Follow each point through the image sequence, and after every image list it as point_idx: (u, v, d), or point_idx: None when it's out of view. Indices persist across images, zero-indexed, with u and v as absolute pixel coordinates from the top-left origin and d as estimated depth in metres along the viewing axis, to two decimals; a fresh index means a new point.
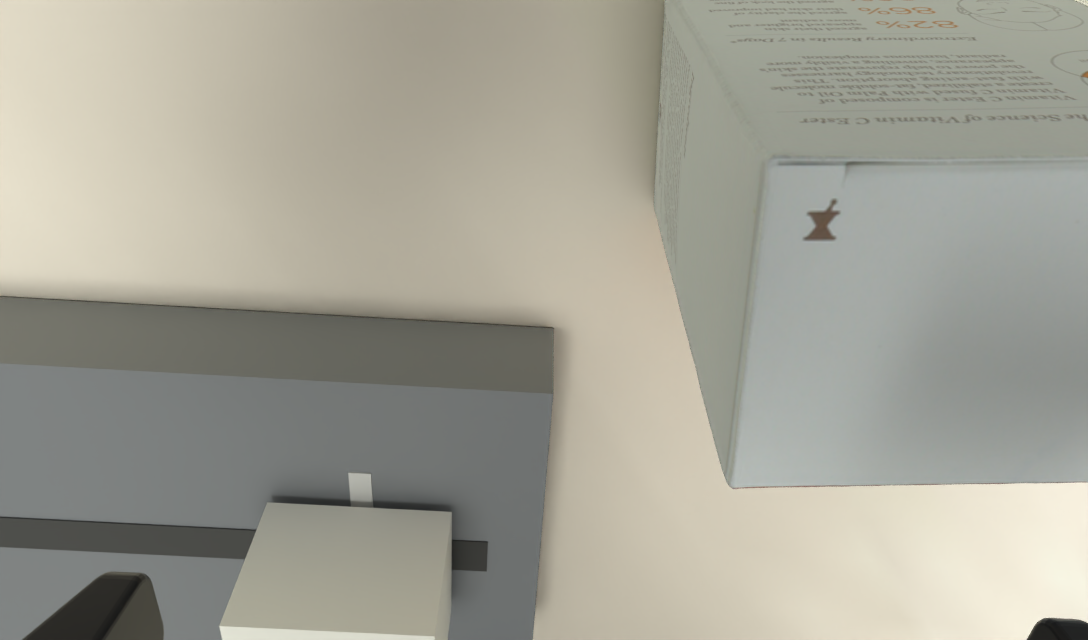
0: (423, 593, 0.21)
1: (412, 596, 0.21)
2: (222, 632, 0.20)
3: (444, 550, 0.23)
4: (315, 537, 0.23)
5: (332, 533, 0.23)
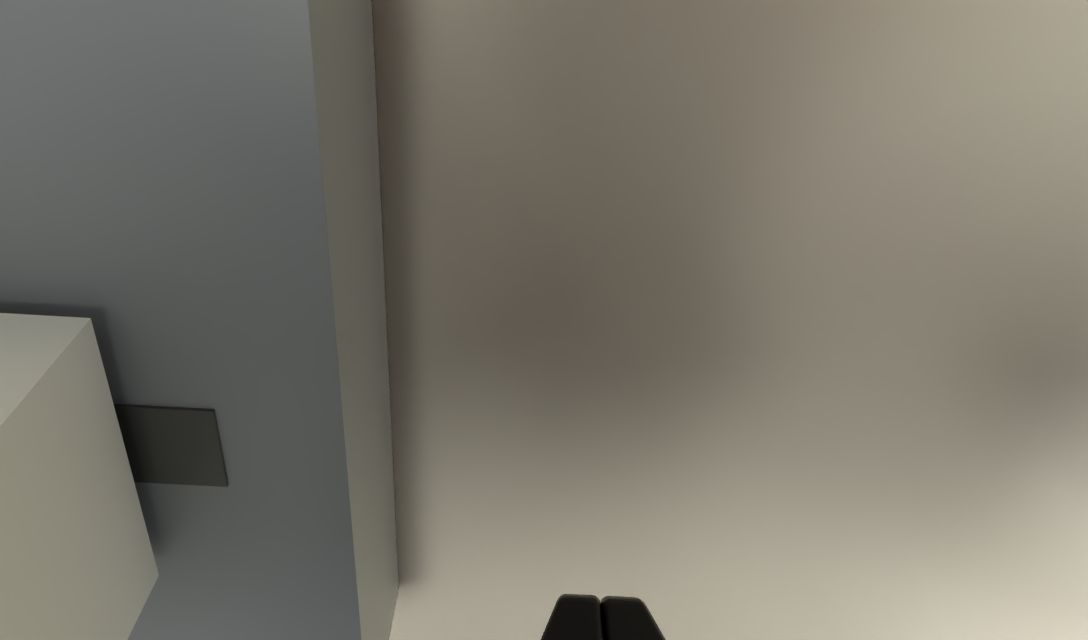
0: None
1: None
2: None
3: (17, 398, 0.08)
4: None
5: None
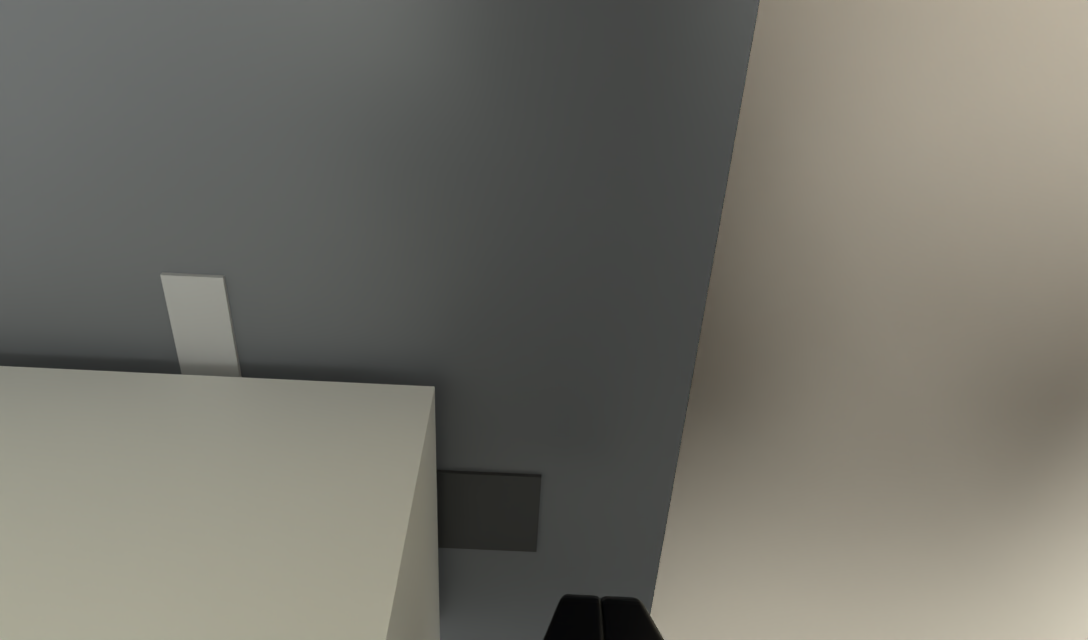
0: (336, 613, 0.06)
1: (294, 624, 0.06)
2: None
3: (410, 481, 0.08)
4: (33, 446, 0.08)
5: (86, 435, 0.08)
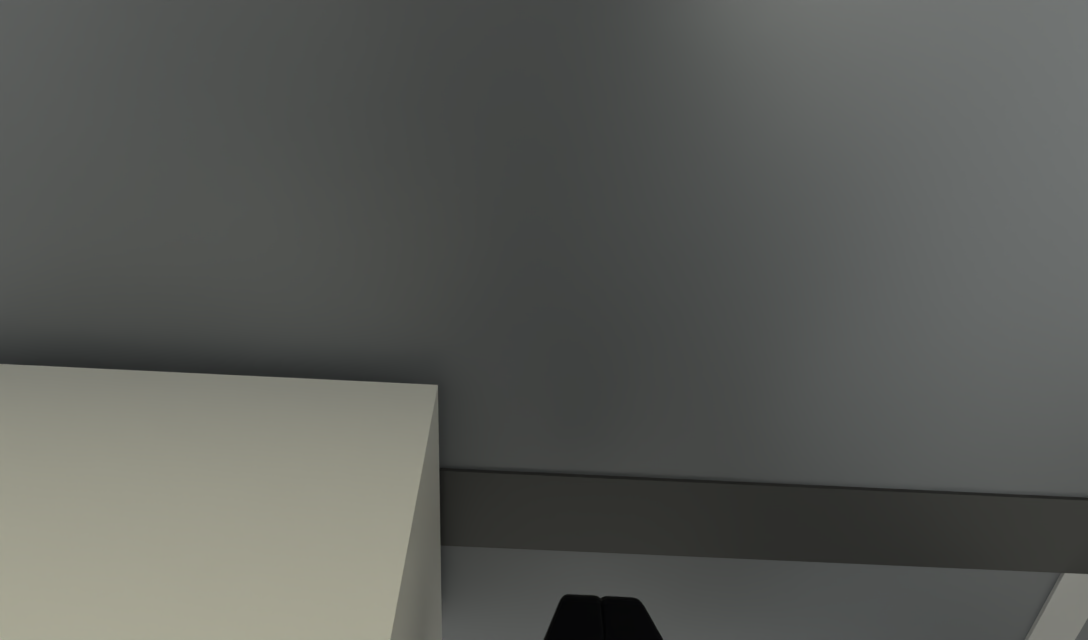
0: (340, 608, 0.06)
1: (300, 619, 0.06)
2: None
3: (414, 478, 0.08)
4: (39, 444, 0.08)
5: (93, 434, 0.08)
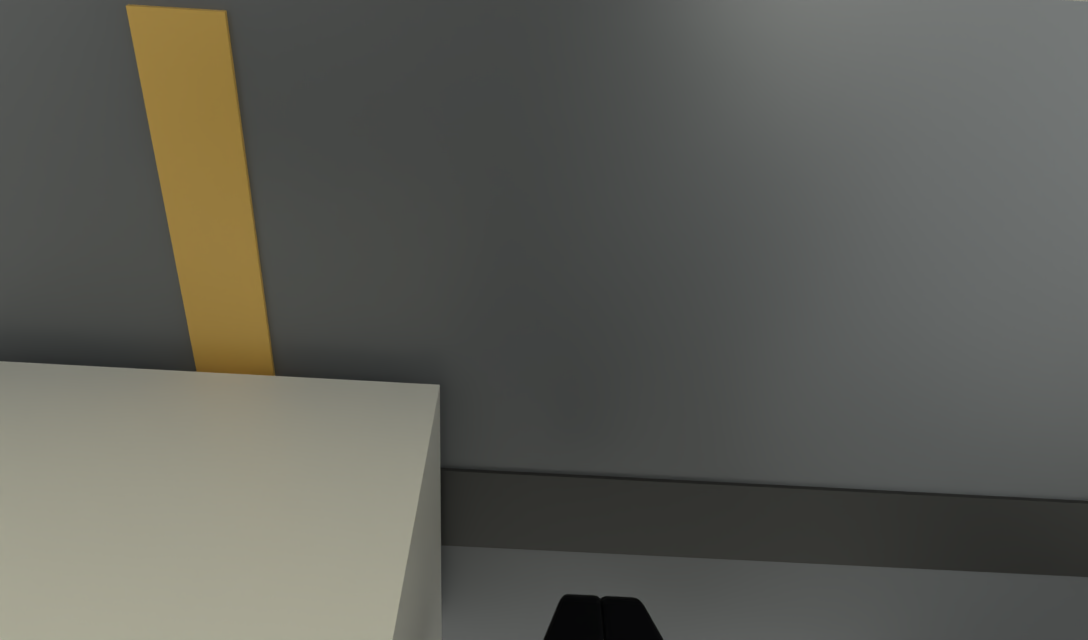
0: (343, 608, 0.06)
1: (303, 619, 0.06)
2: None
3: (416, 478, 0.08)
4: (41, 442, 0.08)
5: (95, 431, 0.08)
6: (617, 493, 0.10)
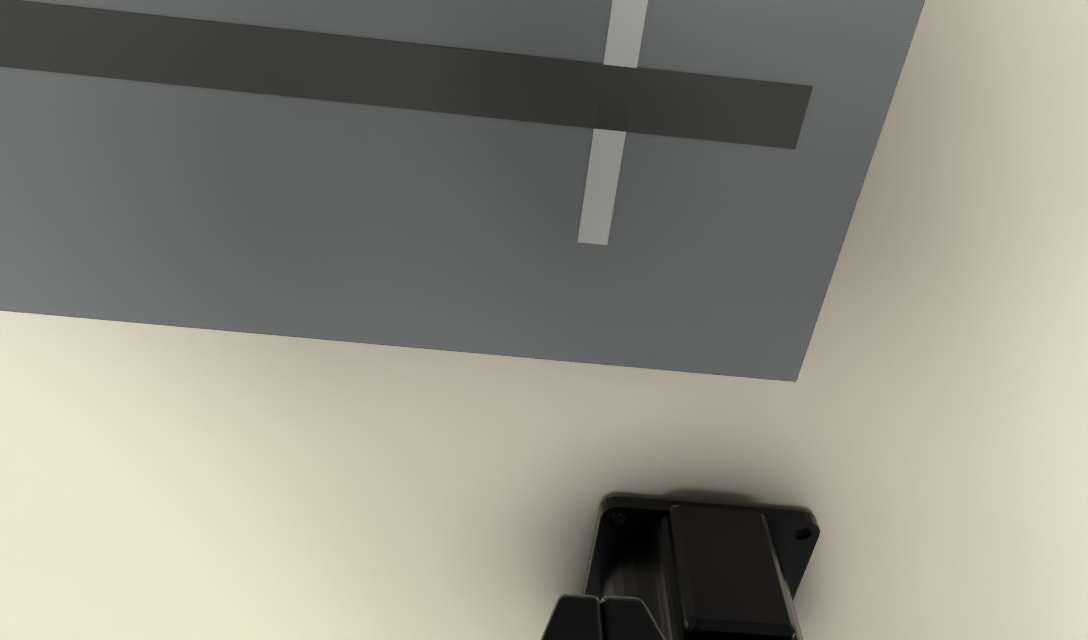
0: None
1: None
2: None
3: None
4: None
5: None
6: None
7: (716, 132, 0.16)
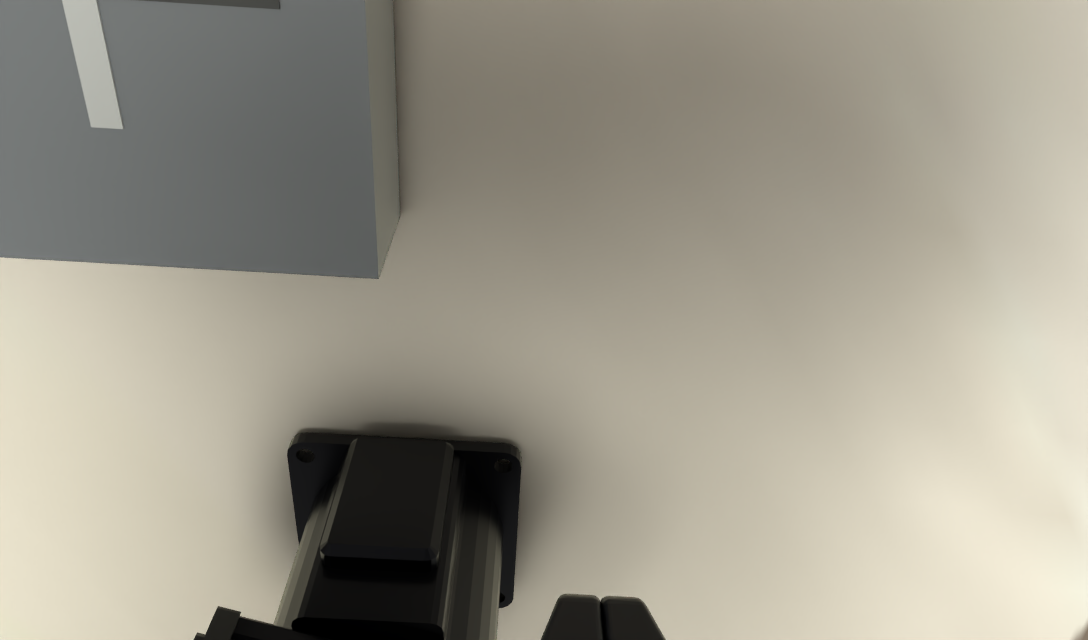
0: None
1: None
2: None
3: None
4: None
5: None
6: None
7: None
